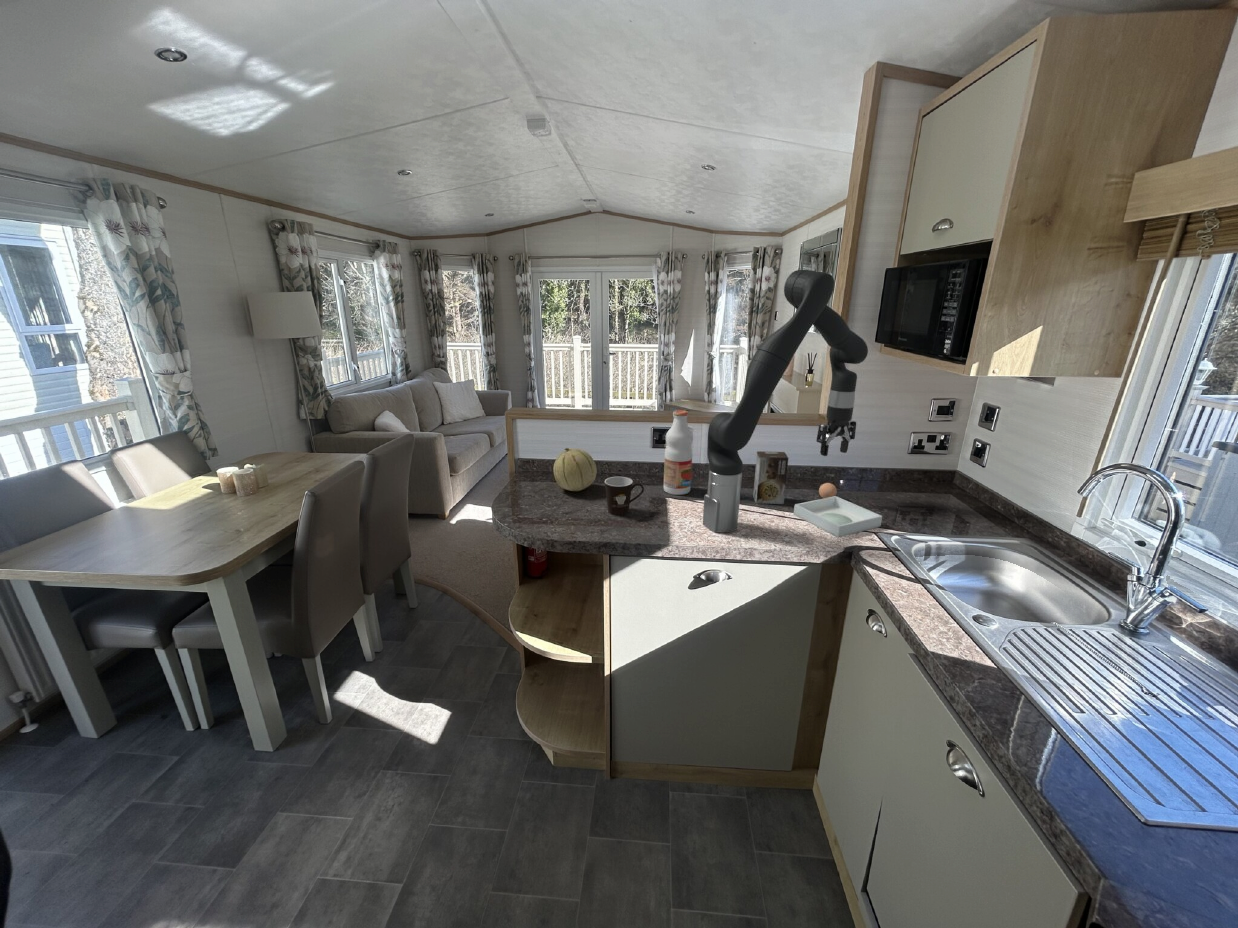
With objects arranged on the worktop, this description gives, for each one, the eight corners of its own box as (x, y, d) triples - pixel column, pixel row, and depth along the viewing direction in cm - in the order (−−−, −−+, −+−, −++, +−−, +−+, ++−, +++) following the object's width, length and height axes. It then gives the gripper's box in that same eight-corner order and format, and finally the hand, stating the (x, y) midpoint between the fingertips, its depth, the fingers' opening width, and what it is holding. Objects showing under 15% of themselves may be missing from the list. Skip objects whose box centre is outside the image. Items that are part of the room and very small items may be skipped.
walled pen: (837, 537, 139) (839, 526, 138) (793, 514, 154) (794, 504, 153) (880, 526, 146) (882, 516, 145) (834, 505, 161) (835, 496, 160)
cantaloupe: (598, 496, 167) (598, 454, 163) (554, 498, 165) (552, 455, 161) (594, 481, 181) (594, 441, 176) (553, 483, 179) (552, 443, 175)
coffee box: (779, 497, 168) (785, 451, 163) (784, 504, 162) (789, 457, 157) (752, 496, 169) (756, 450, 164) (755, 503, 163) (760, 456, 158)
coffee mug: (601, 515, 153) (601, 484, 150) (608, 504, 161) (608, 475, 158) (638, 519, 150) (639, 488, 147) (643, 508, 158) (644, 478, 155)
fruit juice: (666, 484, 179) (669, 407, 170) (692, 487, 176) (696, 409, 167) (660, 493, 170) (663, 413, 161) (688, 496, 168) (692, 415, 159)
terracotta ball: (826, 503, 163) (829, 487, 162) (814, 497, 168) (816, 482, 166) (839, 500, 166) (841, 484, 164) (826, 494, 170) (828, 479, 169)
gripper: (833, 408, 151) (826, 459, 156) (866, 405, 156) (859, 454, 161) (814, 404, 157) (808, 453, 162) (847, 400, 163) (840, 448, 168)
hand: (833, 453), depth 162 cm, fingers open, 8 cm apart
